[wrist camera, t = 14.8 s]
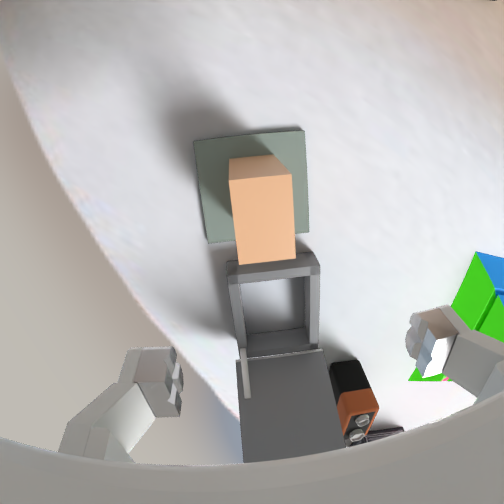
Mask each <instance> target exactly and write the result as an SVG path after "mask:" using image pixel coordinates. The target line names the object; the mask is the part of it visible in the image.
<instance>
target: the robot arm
mask: <svg viewBox="0 0 504 504" xmlns="http://www.w3.org/2000/svg"><path fill="white" fill-rule="evenodd" d="M410 324H411V326H412V327H411V328H410V329H409V330H408V331H407V334H406V339H405V340H406V348H407V351H408V353H409V355H410V357H412V358H414V359H416V360H417V361H416V367H417V368H418V370H419V372H420V374H421V375H422V377H423V378H424V377H428V376H431V375H435V374H438V373H442V374H444V375H445V376H447V377H448V378H450V379H451V380H452V381H454V382H455V383H457V384H458V385H460V386H461V387H463V388H464V389H466V390H467V391H468V392H470V393H471V394H473V395H474V396H476V397H477V399H476V401H475V402H474V404H473V405H472V406H470V407H468V408H466V409H463V410H461V411H459V412H456V413H454V414H451V415H449V416H446V417H444V418H441V419H439V420H436V421H434V422H431V423H428V424H425V425H423V426H420V427H417V428H414V429H411V430H408V431H405V432H402V433H399V434H395V435H392V436H389V437H385V438H382V439H378V440H375V441H371V442H367V443H363V444H359V445H355V446H351V447H347V448H343V449H338V450H333V451H328V452H323V453H318V454H313V455H307V456H301V457H294V458H287V459H280V460H272V461H263V462H253V463H241V464H224V465H156V464H140V463H135V462H134V460H133V459H132V458H131V457H130V456H129V454H128V453H129V452H130V451H131V450H132V448H133V447H134V446H135V445H136V443H137V442H138V440H140V438H141V437H142V436H143V434H144V433H145V432H146V431H147V429H148V428H149V427H150V426H151V424H152V423H153V422H154V420H155V419H156V418H155V417H179V416H180V411H181V402H182V401H181V398H180V396H179V394H180V393H181V392H182V391H183V373H182V369H181V366H180V364H179V363H177V362H176V356H177V354H176V352H175V349H174V347H144V348H130V349H129V350H128V351H127V354H126V357H125V361H124V364H123V367H122V370H121V373H120V376H119V380H118V383H113V384H112V385H111V386H109V387H108V388H107V389H106V390H105V391H104V392H103V393H101V394H100V395H99V396H98V397H97V398H96V399H94V400H93V401H92V402H91V403H90V404H89V405H88V406H87V407H85V408H84V409H83V410H82V411H81V412H80V413H78V414H77V415H76V416H75V417H74V418H72V419H71V420H70V421H69V422H68V423H67V426H66V429H65V432H64V435H63V438H62V441H61V444H60V447H59V451H58V452H55V451H51V450H46V449H42V448H38V447H34V446H30V445H26V444H22V443H19V442H15V441H12V440H8V439H5V438H2V437H0V504H504V343H503V342H501V341H499V340H496V339H494V338H492V337H490V336H487V335H485V334H483V333H481V332H478V331H476V330H470V329H469V327H468V326H467V325H466V324H465V323H464V321H463V320H462V319H461V318H460V317H459V316H458V314H457V313H456V312H455V311H454V310H453V309H452V307H451V306H449V305H444V306H440V307H436V308H433V309H429V310H425V311H420V312H416V313H413V314H412V316H411V318H410Z"/></svg>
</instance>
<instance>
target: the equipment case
mask: <svg viewBox="0 0 504 504" xmlns="http://www.w3.org/2000/svg"><path fill="white" fill-rule="evenodd" d="M302 276H304V299H305V327H304V328H297V329H290V330H282V331H275V332H266V333H258V334H249V335H246V327H245V320H244V313H243V306H242V298H241V291H240V284H243V283H251V282H260V281H269V280H277V279H286V278H294V277H302ZM227 282H228V288H229V294H230V301H231V307H232V313H233V320H234V326H235V332H236V338H237V344H238V350H239V356H240V359H239V360H236V373H237V387H238V400H239V413H240V426H241V437H242V449H243V462H244V463H253V462H263V461H272V460H280V459H287V458H294V457H301V456H307V455H313V454H318V453H323V452H328V451H333V450H338V449H343V448H346V446H345V441H344V437H343V432H342V428H341V423H340V419H339V415H338V410H337V406H336V402H335V397H334V393H333V389H332V385H331V381H330V377H329V373H328V369H327V365H326V361H325V357H324V353H323V349H318V336H319V307H320V264H319V262H318V260H317V258H316V256H315V255H314V253H313V252H307V253H298V254H296V258H295V259H287V260H278V261H269V262H261V263H252V264H243V265H239V261H238V260H237V261H228V262H227ZM313 349H317V350H313ZM307 350H310V351H307ZM300 351H304V352H300ZM293 352H297V353H293ZM285 353H290V354H285ZM278 354H282V355H278ZM270 355H275V356H270ZM262 356H266V357H262ZM253 357H258V358H253ZM247 358H249V359H247Z"/></svg>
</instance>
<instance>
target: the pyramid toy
mask: <svg viewBox="0 0 504 504" xmlns="http://www.w3.org/2000/svg"><path fill="white" fill-rule="evenodd" d="M451 307H452V309H453V310H454V311H455V312H456V313H457V314H458V316H459V317H460V318H461V319H462V320H463V321H464V323H465V324H466V325H467V326H468V327H469V329H470V330H476V331H478V332H481V333H483V334H485V335H487V336H490V337H492V338H494V339H496V340H499V341H501V342H503V343H504V258H501V257H497V256H493V255H489V254H484V253H480V252H475V254H474V257H473V259H472V262H471V264H470V266H469V269H468V271H467V273H466V275H465V278H464V280H463V282H462V284H461V286H460V289H459V291H458V293H457V295H456V297H455V299H454V301H453V303H452V305H451ZM446 380H447V381H452V380H451V379H450V378H448V377H447V376H445V375H444V374H442V373H438V374H435V375H431V376H428V377H424V378H423V377H422V375H421V374H420V372H419V370H418V368H417V367H416V369H415V371H414V372H413V374H412V375H411V377H410V378H409V380H408V381H446Z"/></svg>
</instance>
